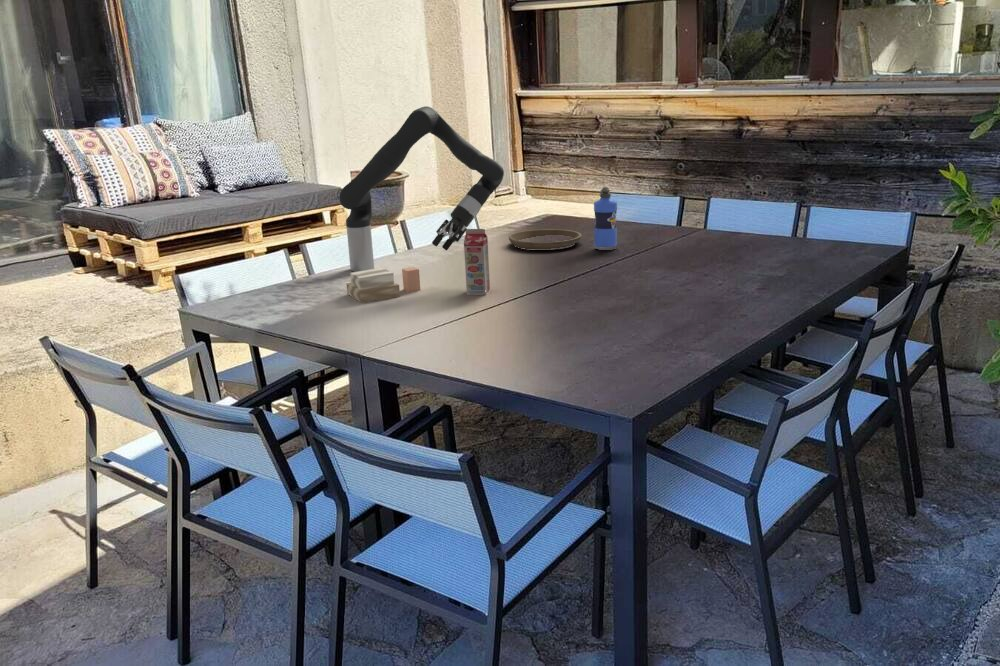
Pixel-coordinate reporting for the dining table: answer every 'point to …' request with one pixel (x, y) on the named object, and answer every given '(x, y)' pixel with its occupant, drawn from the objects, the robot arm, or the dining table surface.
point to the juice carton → (476, 262)
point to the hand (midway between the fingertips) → (438, 246)
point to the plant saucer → (521, 235)
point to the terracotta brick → (411, 279)
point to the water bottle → (605, 220)
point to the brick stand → (372, 285)
